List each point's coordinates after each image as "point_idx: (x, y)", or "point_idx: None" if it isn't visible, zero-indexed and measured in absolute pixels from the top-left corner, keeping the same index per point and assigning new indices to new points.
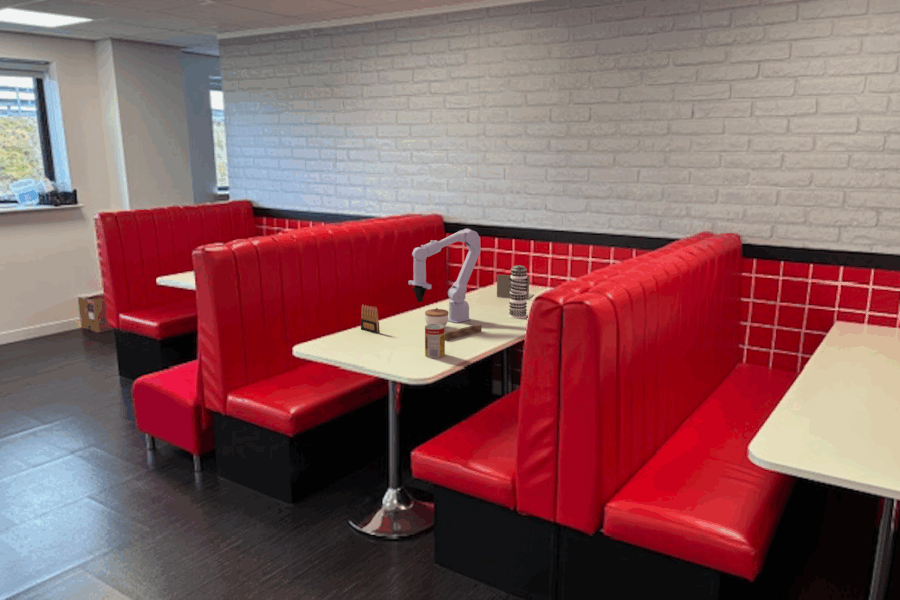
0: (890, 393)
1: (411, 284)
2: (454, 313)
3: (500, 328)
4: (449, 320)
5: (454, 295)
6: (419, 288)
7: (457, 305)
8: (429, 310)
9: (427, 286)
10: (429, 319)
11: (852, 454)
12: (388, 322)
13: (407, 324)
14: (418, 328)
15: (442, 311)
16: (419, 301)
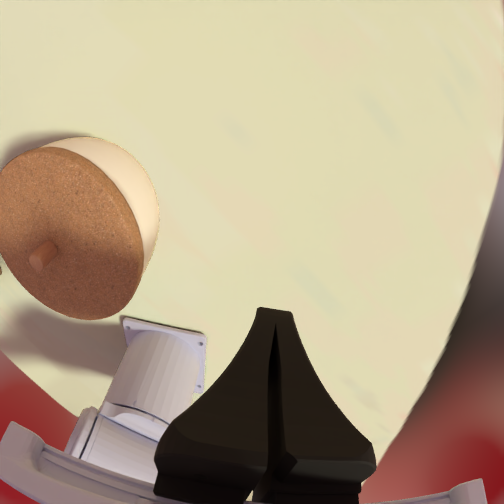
0: None
1: (439, 497)
2: (130, 361)
3: (6, 328)
4: (169, 329)
5: (71, 439)
6: (159, 457)
7: (105, 400)
8: (101, 236)
9: (7, 459)
10: (56, 141)
11: None
12: (464, 109)
13: (326, 135)
14: (183, 103)
15: (33, 269)
16: (256, 316)
